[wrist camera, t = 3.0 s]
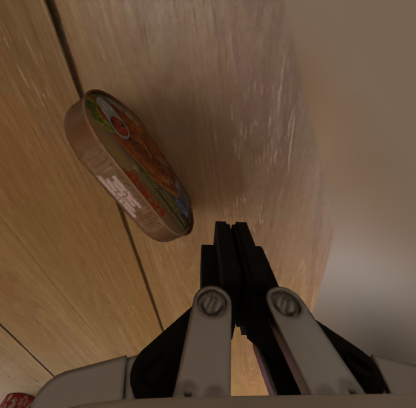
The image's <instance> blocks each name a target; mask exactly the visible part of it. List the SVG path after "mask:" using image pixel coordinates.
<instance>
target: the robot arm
mask: <svg viewBox="0 0 416 408" xmlns="http://www.w3.org/2000/svg"><path fill="white" fill-rule="evenodd" d="M235 323H236V326H237V327H240V329H241V335H247V339H249V340H250V341H251V342H252V343H253V349H254V353H255V355H256V358H257V361H258V364H259V367H260V370H261V373H262V376H263V379H264V382H265V385H266V387H267V390H268V393H269V396H231V339H232V338H233V333H234V328H235ZM30 408H416V365H413V364H410V363H406V362H402V361H397V360H394V359H390V358H385V357H381V356H378V355H373V354H372V355H371V356H370V357H369V356H367V355H366V354H365V353H364V352H363V351H361V350H360V349H358V348H357V347H356V346H354V345H353V344H351V343H350V342H348V341H346V340H345V339H344V338H342V337H341V336H339V335H338V334H336V333H335V332H333V331H332V330H330V329H329V328H327V327H326V326H324V325H323V324H321V323H320V322H318V321H317V320H315V319H314V317H313V315H312V314H311V312H310V311H309V309H308V308H307V306H306V305H305V304H304V302H303V301H302V299H301V298H300V297H299V296H298V295H297V294H296V293H295V292H293V291H291V290H289V289H287V288H284V287H279V286H278V283H277V281H276V279H275V276H274V274H273V272H272V269H271V267H270V265H269V262H268V260H267V258H266V255H265V253H264V251H263V249H262V247H261V246H255V243H254V241H253V238H252V236H251V233H250V230H249V228H248V225H247V223H246V222H236V223H235V225H233V224H232V227H231V228H230V225H229V224H226V222H221V221H216V223H215V233H214V243H213V245H202V246H201V267H200V290H198V292H197V293H196V294H195V296H194V299H193V304H192V307H191V308H190V309H188V310H187V311H186V312H185V313H184V314H183V315H182V316H181V317H179V318H178V319H177V320H176V321H175V322H174V323H173V324H171V325H170V326H169V327H168V328H167V329H166V330H165V331H164V332H162V333H161V334H160V335H159V336H158V337H157V338H156V339H155V340H153V341H152V342H151V343H150V344H149V345H148V346H147V347H146V348H144V349H143V350H142V351H141V352H140V354H139V355H136V356H132V357H128V358H127V355H125V356H122V357H118V358H114V359H110V360H107V361H103V362H99V363H95V364H91V365H88V366H84V367H80V368H76V369H73V370H69V371H65V372H63V373H61V374H58V375H56V376H55V377H53V378H52V379H51V380H49V381H48V382H47V383H46V384H45V385H44V386H43V387H42V388H41V390H40V391H39V392H38V393H37V395H36V397H35V399H34V401H33V402H32V404H31V407H30Z"/></svg>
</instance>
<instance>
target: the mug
mask: <svg viewBox="0 0 416 408" xmlns="http://www.w3.org/2000/svg"><path fill="white" fill-rule="evenodd" d="M33 401H34V398H33V397H31V396H29V395H26V394H20V393H12V394H9V395H7V396H6V397H5V399H4V400H3V401H2V403H1V404H0V408H30V407H31V404H32V402H33Z"/></svg>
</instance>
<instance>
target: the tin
mask: <svg viewBox="0 0 416 408" xmlns="http://www.w3.org/2000/svg"><path fill="white" fill-rule="evenodd" d="M64 127H65V133H66V136H67V139H68V141H69V144H70V146H71V148H72V149H73V151H74V153H75V154H76V156H77V157H78V159H79V160H80V161H81V162H82V163H83V165H84V166H85V167H86V168H87V169H88V170H89V172H90V173H91V174H92V175H93V176H94V177H95V178H96V180H97V181H98V182H99V183H100V184H101V185H102V186H103V187H104V189H105V190H106V191H107V192H108V193H109V194H110V195H111V196H112V197H113V199H114V200H115V201H116V202H117V203H118V204H119V205H120V206H121V208H122V209H123V210H124V211H125V212H126V213H127V214H128V215H129V216H130V218H131V219H132V220H133V221H134V222H135V223H136V224H137V225H138V227H139V228H140V229H141V230H142V231H143V232H144V233H145V234H146V235H148V236H149V237H151V238H152V239H154V240H156V241H159V242H168V241H172V240H174V239H177V238H179V237H182V236H187V235H188V234H190V233H191V231H192V229H193V223H194V220H193V212H192V208H191V204H190V201H189V198H188V196H187V194H186V192H185V190H184V188H183V186H182V184H181V183H180V181H179V180H178V178H177V177H176V175H175V174H174V172H173V171H172V169H171V168H170V166H169V165H168V163H167V162H166V160H165V159H164V157H163V156H162V154H161V153H160V151H159V150H158V148H157V146H156V145H155V143H154V142H153V140H152V139H151V137H150V136H149V134H148V133H147V131H146V130H145V128H144V127H143V126H142V124H141V123H140V122H139V120H138V119H137V118H136V117H135V116H134V114H133V113H132V112H131V111H130V110H129V109H128V108H127V107H126V106H125V105H124V104H123V103H121V102H120V101H119V100H117V99H116V98H115V97H113V96H112V95H110V94H108V93H106V92H104V91H101V90H97V89H96V90H94V89H93V90H90V91H88V92H87V93H86V94H85V95H84V97H83V98H82V99H80V100H79V101H78V102H76V103H75V104H74V105H73V106H72V107H71V108H70V109H69V110H68V111H67V113H66V115H65V120H64Z"/></svg>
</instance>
